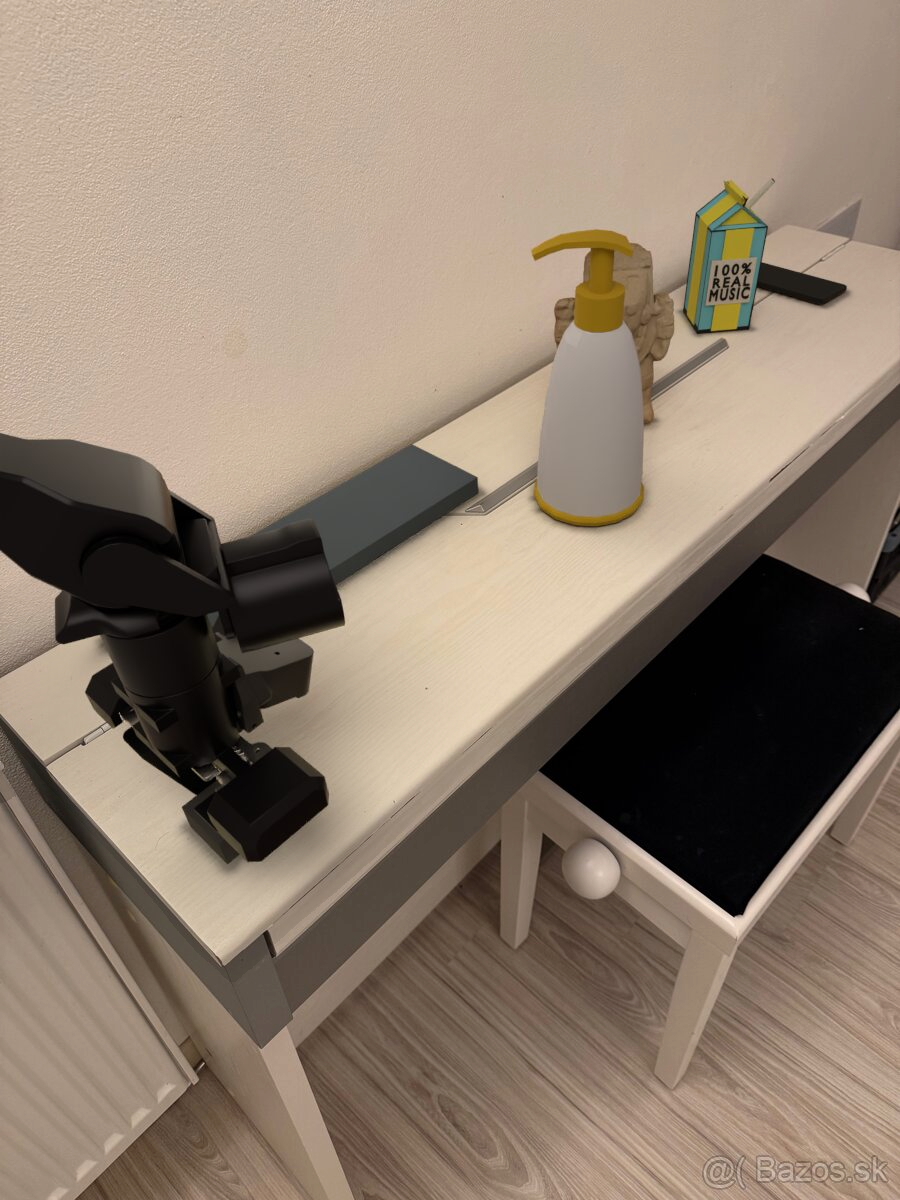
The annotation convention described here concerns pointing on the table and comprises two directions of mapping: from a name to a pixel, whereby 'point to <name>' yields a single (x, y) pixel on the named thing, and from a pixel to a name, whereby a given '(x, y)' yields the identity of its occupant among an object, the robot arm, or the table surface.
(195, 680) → the robot arm
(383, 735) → the table surface
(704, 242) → the carton
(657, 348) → the figurine
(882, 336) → the table surface
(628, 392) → the soap bottle
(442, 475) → the grey rectangular block
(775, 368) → the table surface
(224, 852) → the black block
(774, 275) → the smartphone
